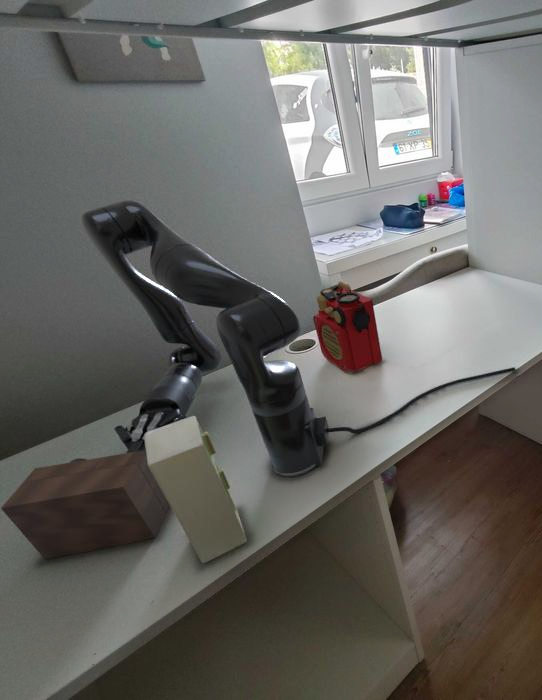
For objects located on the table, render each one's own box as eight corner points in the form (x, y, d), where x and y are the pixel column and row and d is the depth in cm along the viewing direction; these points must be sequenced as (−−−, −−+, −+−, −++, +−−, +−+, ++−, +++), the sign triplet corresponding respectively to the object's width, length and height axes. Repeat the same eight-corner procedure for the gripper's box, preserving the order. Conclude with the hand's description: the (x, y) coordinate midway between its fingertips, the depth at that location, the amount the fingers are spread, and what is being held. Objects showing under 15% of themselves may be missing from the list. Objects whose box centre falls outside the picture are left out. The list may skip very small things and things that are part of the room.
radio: (321, 356, 119) (303, 287, 109) (353, 342, 125) (339, 275, 115) (352, 378, 109) (336, 305, 99) (386, 362, 115) (374, 291, 105)
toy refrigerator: (253, 539, 71) (208, 441, 60) (203, 565, 67) (145, 465, 57) (242, 507, 76) (199, 412, 66) (195, 530, 73) (141, 432, 62)
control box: (178, 488, 81) (151, 439, 75) (155, 538, 72) (122, 486, 66) (81, 505, 79) (45, 456, 72) (44, 559, 69) (0, 508, 63)
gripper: (126, 390, 87) (79, 451, 73) (198, 380, 89) (166, 436, 75) (142, 420, 91) (100, 483, 77) (210, 409, 93) (183, 469, 79)
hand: (133, 460), depth 76 cm, fingers closed
